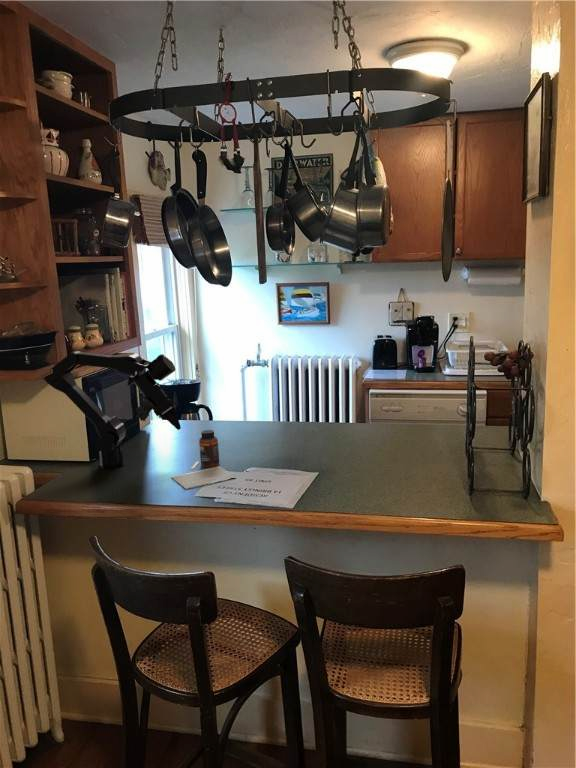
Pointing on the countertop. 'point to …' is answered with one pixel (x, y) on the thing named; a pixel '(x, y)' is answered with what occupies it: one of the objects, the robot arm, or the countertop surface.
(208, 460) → the supplement bottle
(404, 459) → the countertop surface
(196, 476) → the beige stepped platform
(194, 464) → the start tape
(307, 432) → the countertop surface
